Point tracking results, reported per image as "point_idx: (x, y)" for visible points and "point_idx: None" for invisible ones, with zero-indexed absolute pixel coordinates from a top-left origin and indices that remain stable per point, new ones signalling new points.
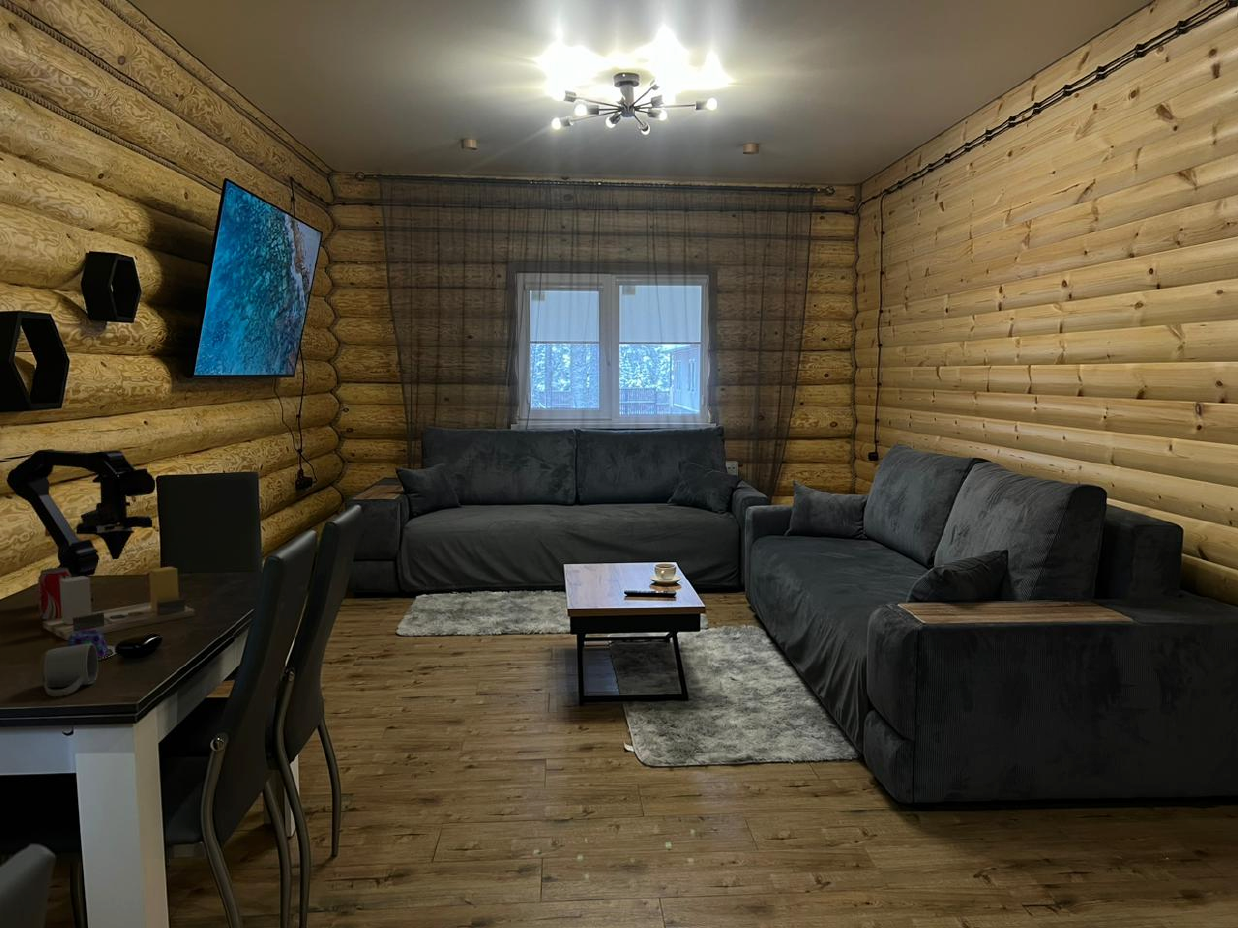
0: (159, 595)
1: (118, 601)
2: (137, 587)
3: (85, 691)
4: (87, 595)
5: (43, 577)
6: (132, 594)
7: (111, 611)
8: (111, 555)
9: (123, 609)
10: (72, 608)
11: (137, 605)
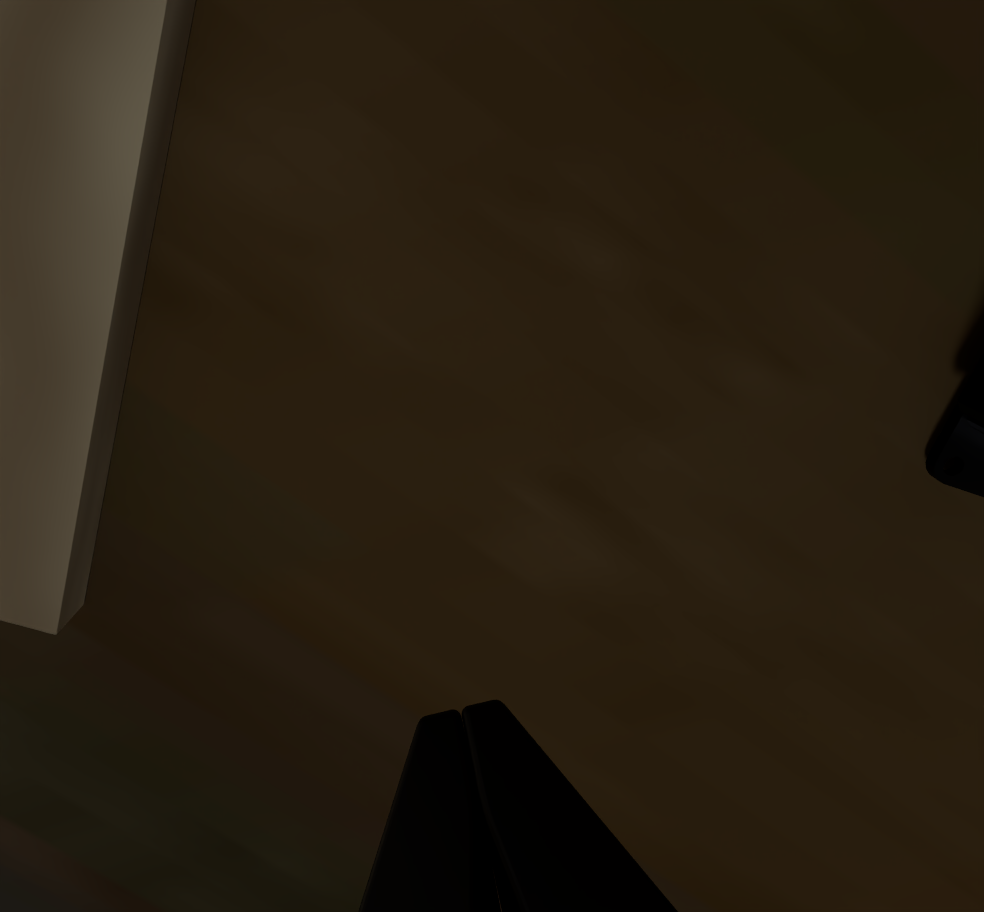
0: None
1: (645, 529)
2: (907, 896)
3: None
4: None
5: None
6: (746, 738)
7: (32, 8)
8: (532, 755)
9: (7, 145)
10: None
11: (58, 344)
